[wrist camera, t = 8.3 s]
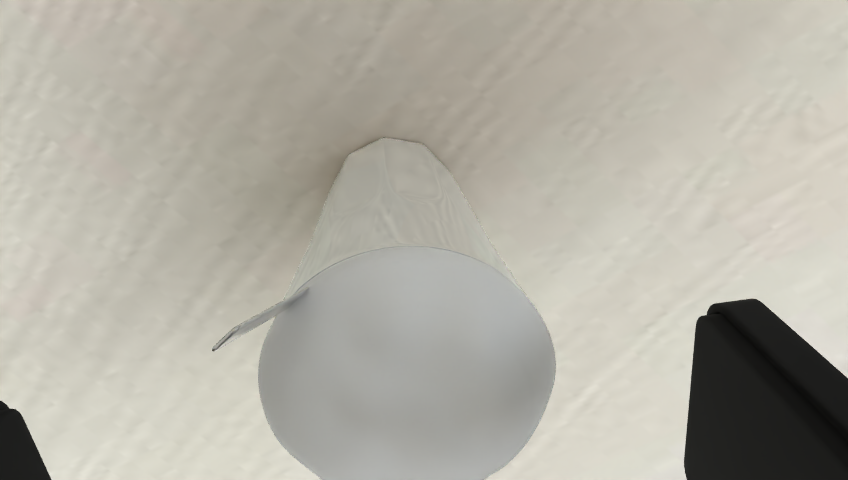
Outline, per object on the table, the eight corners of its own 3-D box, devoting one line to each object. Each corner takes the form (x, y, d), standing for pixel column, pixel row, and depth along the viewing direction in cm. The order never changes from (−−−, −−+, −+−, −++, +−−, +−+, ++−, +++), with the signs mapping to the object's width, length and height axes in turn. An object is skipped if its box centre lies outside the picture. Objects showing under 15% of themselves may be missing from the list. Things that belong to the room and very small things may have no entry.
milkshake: (371, 48, 16) (368, 202, 7) (511, 195, 17) (661, 471, 8) (246, 174, 17) (98, 453, 8) (391, 299, 19) (410, 641, 10)
